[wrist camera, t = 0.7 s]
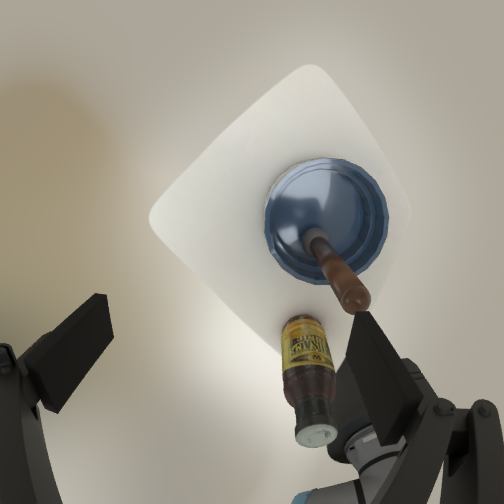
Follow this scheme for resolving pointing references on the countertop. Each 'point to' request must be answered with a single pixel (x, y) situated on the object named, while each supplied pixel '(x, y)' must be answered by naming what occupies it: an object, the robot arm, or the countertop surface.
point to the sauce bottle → (309, 381)
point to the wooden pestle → (336, 271)
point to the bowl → (325, 216)
